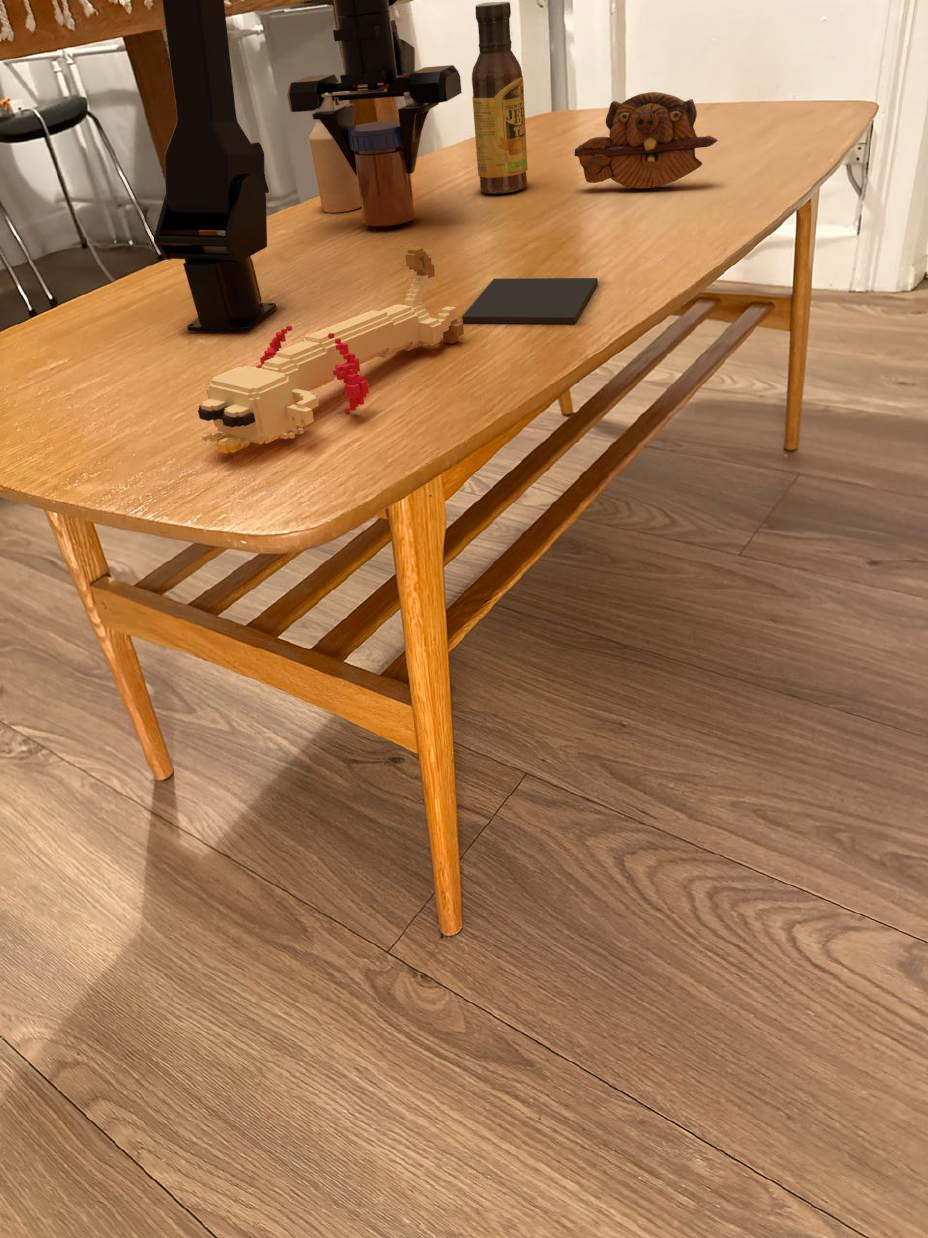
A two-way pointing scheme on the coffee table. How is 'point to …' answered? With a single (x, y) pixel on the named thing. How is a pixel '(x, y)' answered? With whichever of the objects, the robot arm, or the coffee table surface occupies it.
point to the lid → (375, 136)
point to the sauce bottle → (498, 104)
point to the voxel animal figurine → (320, 366)
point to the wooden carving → (645, 142)
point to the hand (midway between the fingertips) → (385, 173)
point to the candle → (333, 173)
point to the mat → (532, 301)
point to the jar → (384, 187)
